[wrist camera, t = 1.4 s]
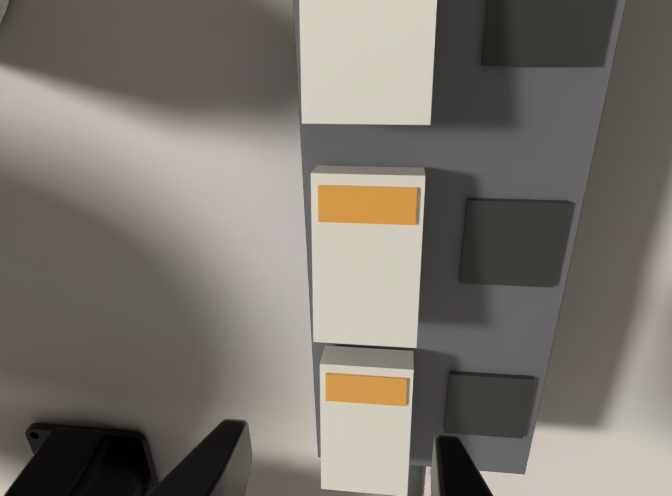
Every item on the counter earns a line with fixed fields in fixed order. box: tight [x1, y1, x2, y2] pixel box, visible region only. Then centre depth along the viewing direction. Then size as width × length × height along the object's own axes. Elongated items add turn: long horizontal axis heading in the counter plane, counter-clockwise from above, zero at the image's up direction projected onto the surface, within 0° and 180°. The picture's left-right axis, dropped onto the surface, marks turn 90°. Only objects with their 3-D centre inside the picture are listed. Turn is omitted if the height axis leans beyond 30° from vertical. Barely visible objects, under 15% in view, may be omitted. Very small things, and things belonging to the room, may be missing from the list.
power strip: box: [293, 0, 626, 496], centre depth 19 cm, size 25×8×4 cm, turn 1°
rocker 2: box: [311, 165, 425, 348], centre depth 15 cm, size 5×3×1 cm, turn 1°
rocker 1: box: [299, 0, 437, 125], centre depth 12 cm, size 5×3×1 cm, turn 1°
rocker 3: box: [320, 346, 414, 496], centre depth 19 cm, size 5×3×1 cm, turn 1°
